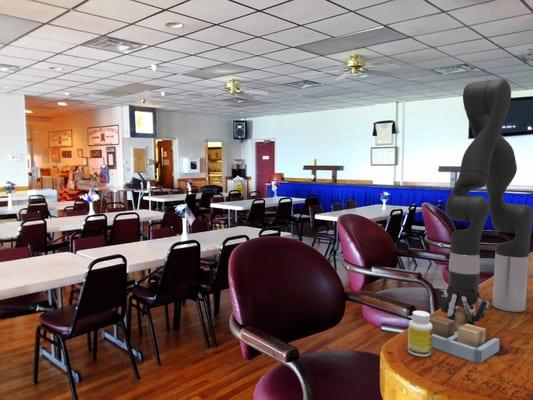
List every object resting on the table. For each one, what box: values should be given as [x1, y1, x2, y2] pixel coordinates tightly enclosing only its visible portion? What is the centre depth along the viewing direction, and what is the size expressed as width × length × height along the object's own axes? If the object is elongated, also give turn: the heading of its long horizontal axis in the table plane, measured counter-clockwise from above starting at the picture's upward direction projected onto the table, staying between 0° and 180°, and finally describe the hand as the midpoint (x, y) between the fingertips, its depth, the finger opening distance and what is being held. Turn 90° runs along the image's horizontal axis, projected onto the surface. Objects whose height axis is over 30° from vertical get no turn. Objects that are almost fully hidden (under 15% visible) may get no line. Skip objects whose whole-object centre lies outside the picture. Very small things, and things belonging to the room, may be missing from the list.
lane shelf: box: [431, 333, 500, 365], centre depth 109 cm, size 11×16×3 cm
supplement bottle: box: [407, 310, 432, 358], centre depth 105 cm, size 5×5×10 cm
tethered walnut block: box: [429, 309, 468, 338], centre depth 115 cm, size 14×5×6 cm, turn 130°
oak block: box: [457, 324, 487, 348], centre depth 106 cm, size 5×5×6 cm
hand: (460, 331), depth 118 cm, fingers open, 4 cm apart
